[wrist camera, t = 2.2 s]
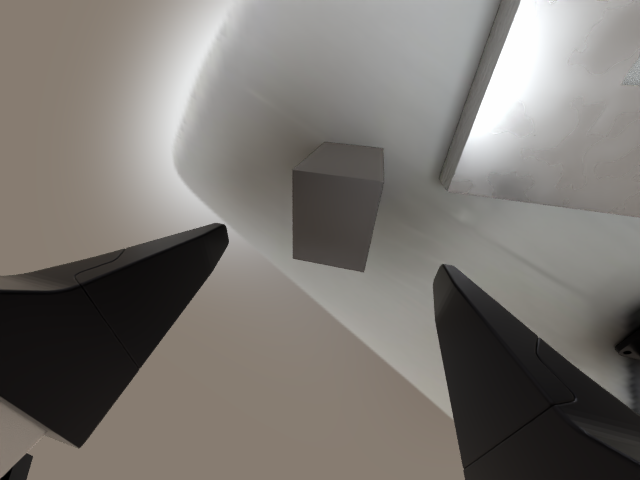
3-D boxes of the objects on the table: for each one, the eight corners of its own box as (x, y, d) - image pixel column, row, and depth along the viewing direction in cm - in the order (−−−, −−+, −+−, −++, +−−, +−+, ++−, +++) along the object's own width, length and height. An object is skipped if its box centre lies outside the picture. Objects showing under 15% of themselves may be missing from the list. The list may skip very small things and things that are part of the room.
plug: (369, 215, 18) (363, 272, 12) (320, 207, 19) (292, 258, 13) (383, 148, 15) (383, 181, 10) (324, 141, 16) (292, 169, 10)
